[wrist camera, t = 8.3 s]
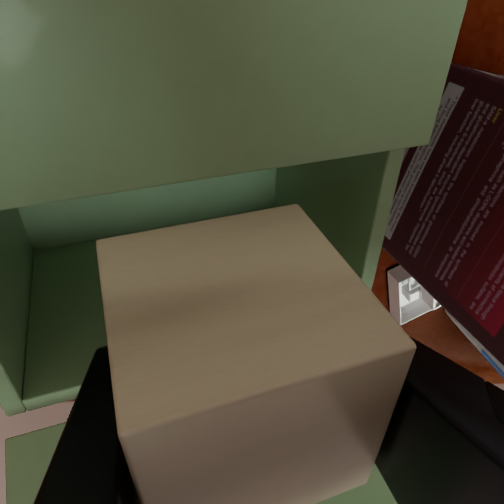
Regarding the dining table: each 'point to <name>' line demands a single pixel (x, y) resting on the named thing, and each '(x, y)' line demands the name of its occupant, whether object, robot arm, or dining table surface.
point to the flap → (45, 441)
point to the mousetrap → (407, 296)
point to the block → (246, 361)
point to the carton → (192, 141)
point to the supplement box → (457, 207)
